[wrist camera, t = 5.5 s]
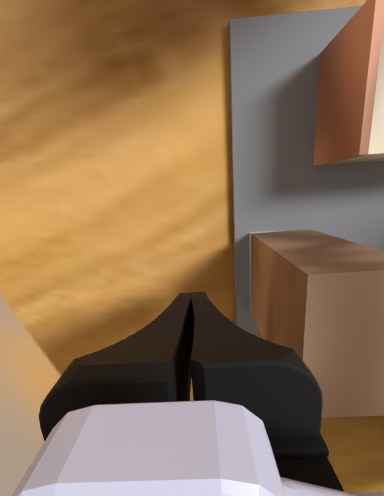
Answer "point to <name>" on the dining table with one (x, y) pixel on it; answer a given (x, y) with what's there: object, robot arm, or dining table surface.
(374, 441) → the dining table surface
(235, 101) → the felt mat
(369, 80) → the ash block
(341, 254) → the walnut block
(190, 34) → the dining table surface
